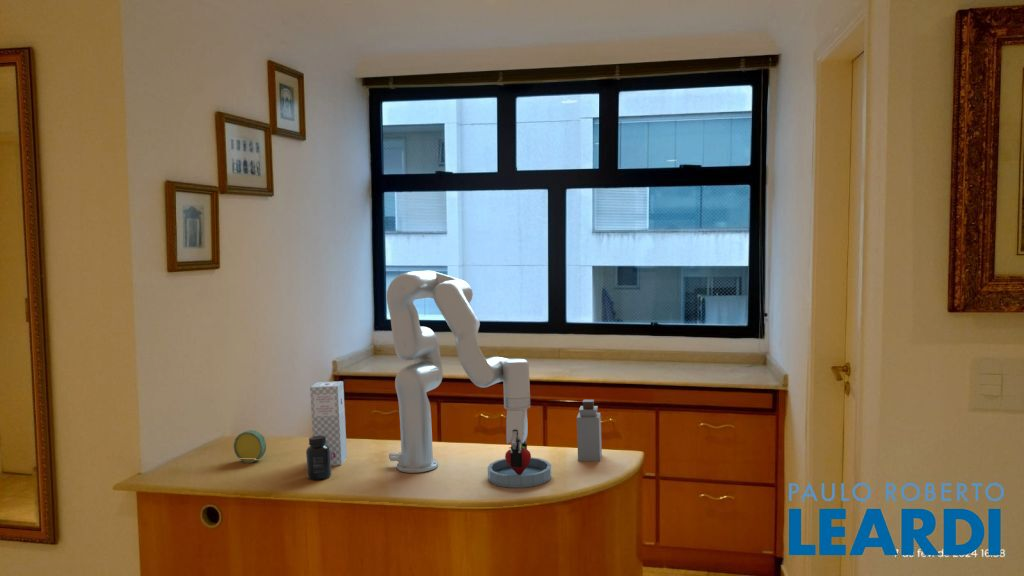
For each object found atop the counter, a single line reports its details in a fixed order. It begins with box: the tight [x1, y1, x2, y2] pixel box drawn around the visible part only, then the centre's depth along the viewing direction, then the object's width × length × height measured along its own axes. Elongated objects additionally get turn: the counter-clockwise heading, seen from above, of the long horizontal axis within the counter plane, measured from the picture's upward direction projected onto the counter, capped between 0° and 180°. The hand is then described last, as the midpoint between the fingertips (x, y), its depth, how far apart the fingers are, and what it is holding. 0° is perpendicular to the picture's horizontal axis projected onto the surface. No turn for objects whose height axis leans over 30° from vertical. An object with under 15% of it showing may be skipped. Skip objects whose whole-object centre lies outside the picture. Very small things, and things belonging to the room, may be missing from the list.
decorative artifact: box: [233, 429, 267, 464], centre depth 233 cm, size 10×7×10 cm
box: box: [309, 380, 348, 467], centre depth 227 cm, size 8×8×25 cm
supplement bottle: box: [305, 435, 332, 481], centre depth 212 cm, size 7×7×12 cm
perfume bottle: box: [576, 399, 603, 462], centre depth 221 cm, size 7×7×18 cm
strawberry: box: [504, 441, 532, 475], centre depth 205 cm, size 6×8×10 cm
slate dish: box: [487, 456, 552, 489], centre depth 205 cm, size 18×18×3 cm
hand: (519, 461), depth 205 cm, fingers open, 8 cm apart
